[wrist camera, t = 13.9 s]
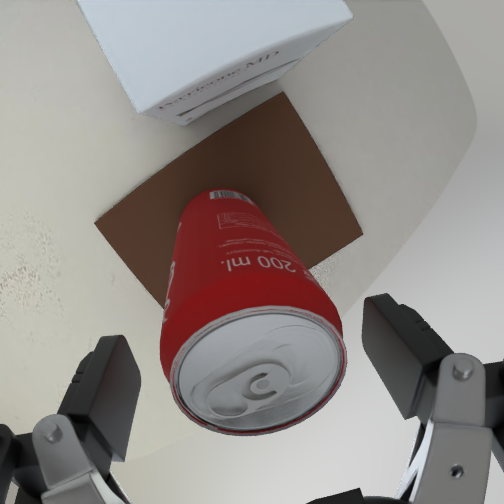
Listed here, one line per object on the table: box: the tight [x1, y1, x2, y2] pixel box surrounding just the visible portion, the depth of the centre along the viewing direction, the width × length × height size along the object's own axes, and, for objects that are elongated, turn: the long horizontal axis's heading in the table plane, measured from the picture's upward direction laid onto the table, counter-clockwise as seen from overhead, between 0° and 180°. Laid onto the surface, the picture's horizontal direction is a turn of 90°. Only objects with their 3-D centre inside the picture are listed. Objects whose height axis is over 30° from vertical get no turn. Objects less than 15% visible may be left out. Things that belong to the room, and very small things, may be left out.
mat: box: [94, 92, 363, 309], centre depth 22 cm, size 16×12×1 cm
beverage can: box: [160, 188, 347, 436], centre depth 15 cm, size 6×6×15 cm
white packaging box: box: [75, 0, 354, 126], centre depth 12 cm, size 7×7×13 cm
